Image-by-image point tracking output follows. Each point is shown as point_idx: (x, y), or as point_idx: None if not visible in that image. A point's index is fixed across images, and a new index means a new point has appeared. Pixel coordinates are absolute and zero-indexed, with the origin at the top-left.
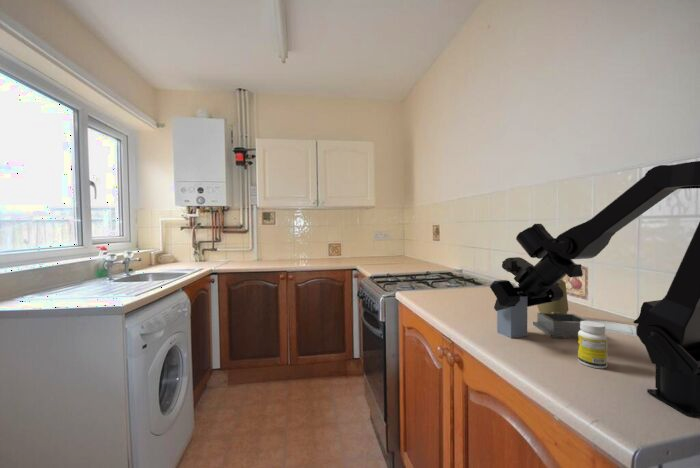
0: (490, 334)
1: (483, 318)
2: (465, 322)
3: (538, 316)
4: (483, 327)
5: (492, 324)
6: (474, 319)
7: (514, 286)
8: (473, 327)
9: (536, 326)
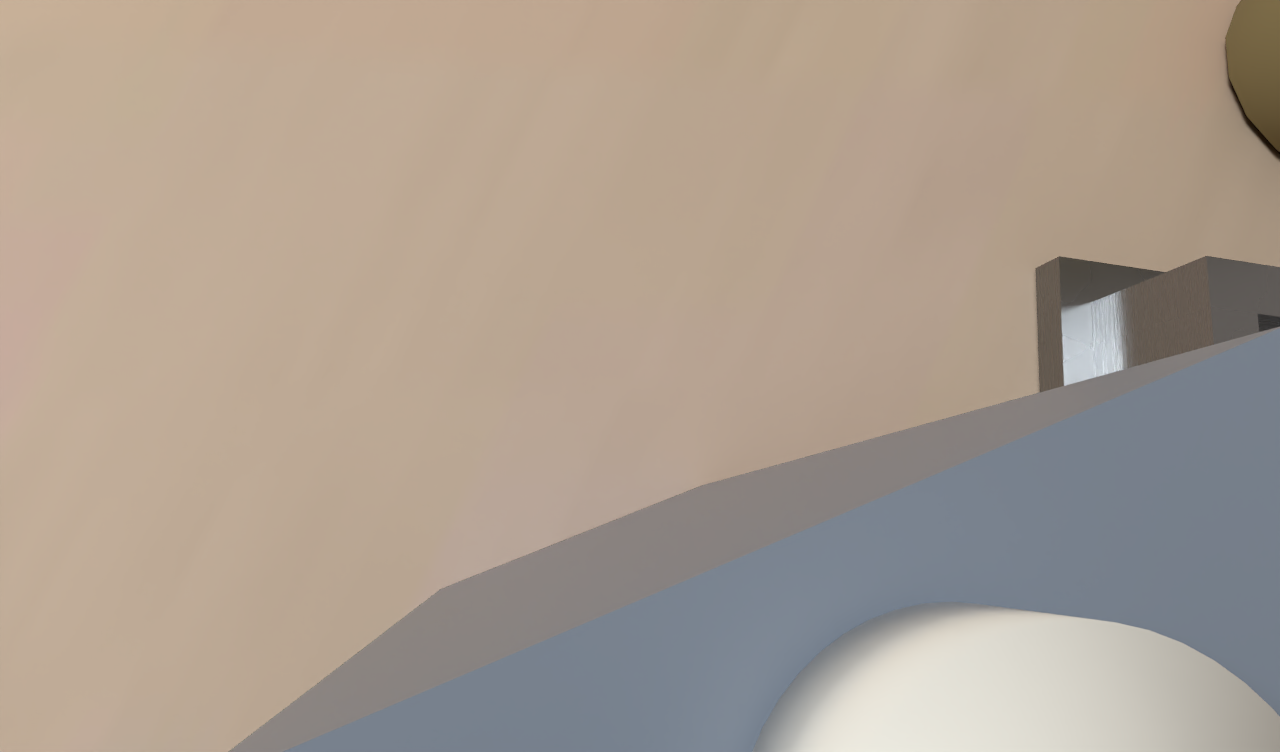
0: (296, 684)
1: (524, 10)
2: (166, 161)
3: (1167, 301)
4: (340, 380)
5: (533, 255)
6: (373, 41)
7: (1274, 659)
8: (182, 382)
9: (1041, 351)
